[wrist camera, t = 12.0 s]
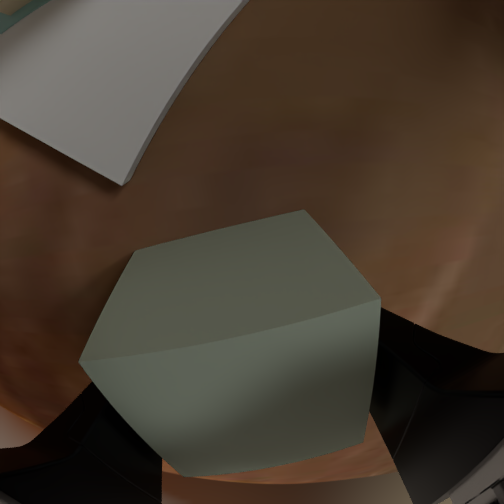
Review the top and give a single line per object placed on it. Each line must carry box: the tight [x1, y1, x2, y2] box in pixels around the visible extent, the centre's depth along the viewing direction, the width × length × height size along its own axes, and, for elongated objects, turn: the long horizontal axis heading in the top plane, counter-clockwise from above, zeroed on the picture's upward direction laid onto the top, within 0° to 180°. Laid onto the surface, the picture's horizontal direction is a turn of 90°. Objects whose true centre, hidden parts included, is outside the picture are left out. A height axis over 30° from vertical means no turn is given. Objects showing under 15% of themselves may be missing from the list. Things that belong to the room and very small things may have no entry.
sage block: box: [78, 210, 381, 477], centre depth 8 cm, size 6×6×5 cm
